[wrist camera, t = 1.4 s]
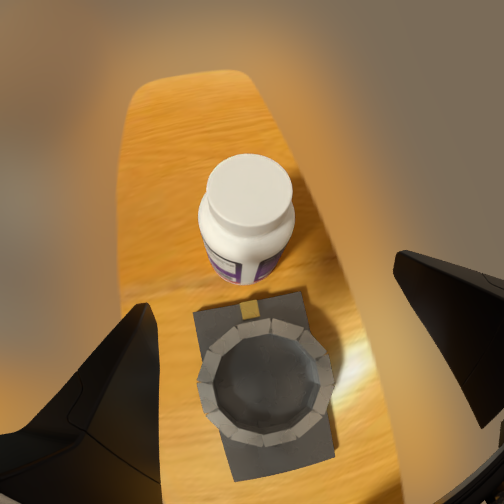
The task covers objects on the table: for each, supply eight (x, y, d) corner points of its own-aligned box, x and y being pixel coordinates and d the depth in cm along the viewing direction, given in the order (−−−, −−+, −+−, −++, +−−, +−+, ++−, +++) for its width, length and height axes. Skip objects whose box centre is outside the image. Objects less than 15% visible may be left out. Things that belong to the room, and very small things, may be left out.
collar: (335, 419, 17) (342, 424, 15) (216, 447, 16) (215, 455, 14) (307, 289, 20) (312, 285, 19) (186, 313, 19) (182, 311, 17)
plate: (331, 453, 17) (335, 456, 16) (234, 477, 16) (234, 481, 15) (298, 293, 21) (300, 291, 20) (194, 313, 20) (192, 312, 19)
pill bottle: (271, 217, 22) (294, 140, 13) (282, 281, 21) (320, 234, 12) (205, 224, 22) (189, 147, 13) (212, 290, 20) (194, 249, 11)
